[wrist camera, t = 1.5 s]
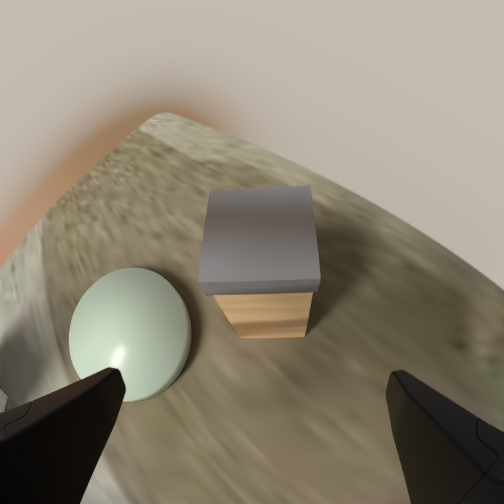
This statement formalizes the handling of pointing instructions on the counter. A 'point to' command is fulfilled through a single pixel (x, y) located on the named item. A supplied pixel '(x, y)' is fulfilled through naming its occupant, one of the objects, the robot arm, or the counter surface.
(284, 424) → the counter surface
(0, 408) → the skincare box
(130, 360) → the sage green coaster
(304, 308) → the grey cushioned footstool
